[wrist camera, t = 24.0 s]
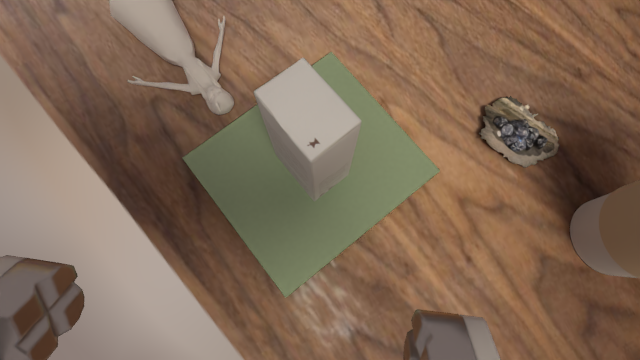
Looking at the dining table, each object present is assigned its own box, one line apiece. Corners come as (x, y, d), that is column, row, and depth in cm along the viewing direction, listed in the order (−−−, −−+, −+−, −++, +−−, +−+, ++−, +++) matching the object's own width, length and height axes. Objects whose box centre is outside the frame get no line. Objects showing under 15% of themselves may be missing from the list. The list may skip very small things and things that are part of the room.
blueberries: (484, 92, 37) (493, 82, 35) (564, 113, 36) (577, 105, 35) (471, 153, 35) (479, 146, 34) (554, 176, 35) (567, 171, 33)
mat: (286, 297, 32) (285, 298, 31) (185, 160, 35) (181, 157, 34) (437, 173, 35) (440, 170, 34) (331, 57, 38) (331, 51, 37)
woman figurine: (162, -68, 36) (274, 65, 34) (177, -33, 41) (278, 86, 38) (57, -4, 34) (169, 140, 32) (85, 25, 39) (185, 154, 37)
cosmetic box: (350, 174, 34) (365, 122, 22) (314, 203, 33) (310, 165, 22) (309, 126, 35) (303, 53, 23) (273, 153, 34) (249, 92, 23)
